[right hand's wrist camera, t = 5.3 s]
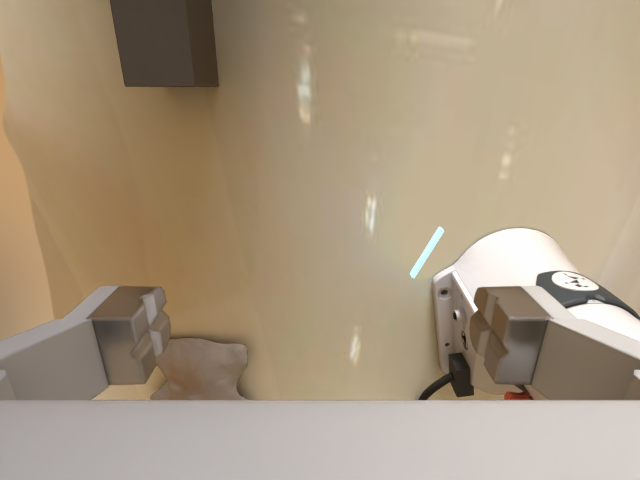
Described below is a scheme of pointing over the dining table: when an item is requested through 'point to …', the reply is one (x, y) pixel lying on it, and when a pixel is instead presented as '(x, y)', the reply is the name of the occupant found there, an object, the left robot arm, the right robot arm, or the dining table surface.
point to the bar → (166, 42)
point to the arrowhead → (201, 370)
